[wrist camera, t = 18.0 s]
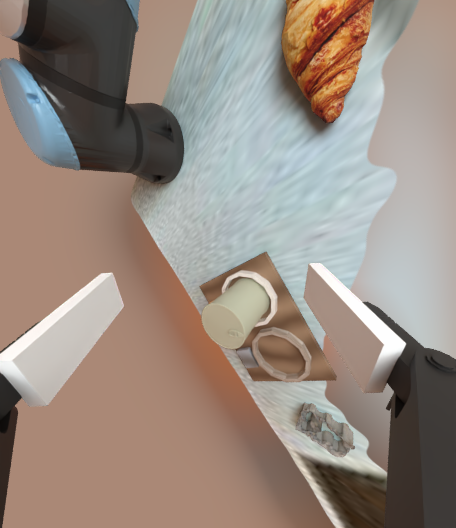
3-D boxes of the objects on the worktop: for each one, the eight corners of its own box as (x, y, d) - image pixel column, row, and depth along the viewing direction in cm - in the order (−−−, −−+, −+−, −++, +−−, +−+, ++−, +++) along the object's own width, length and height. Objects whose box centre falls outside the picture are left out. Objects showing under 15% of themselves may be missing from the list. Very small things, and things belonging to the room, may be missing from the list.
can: (268, 321, 42) (243, 360, 32) (232, 308, 46) (200, 339, 37) (271, 283, 38) (244, 314, 29) (232, 273, 43) (197, 298, 33)
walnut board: (201, 284, 51) (195, 288, 49) (266, 251, 38) (261, 254, 36) (255, 378, 51) (251, 385, 49) (336, 376, 38) (335, 386, 36)
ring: (203, 288, 49) (200, 291, 48) (258, 261, 38) (255, 264, 37) (227, 330, 49) (224, 334, 48) (288, 315, 39) (286, 319, 37)
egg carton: (358, 429, 40) (358, 450, 37) (343, 445, 43) (342, 466, 40) (306, 396, 44) (303, 413, 41) (296, 414, 48) (292, 430, 44)
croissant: (297, -26, 26) (251, -50, 23) (384, -164, 18) (331, -238, 14) (318, 139, 31) (282, 140, 27) (396, 95, 22) (358, 87, 18)
